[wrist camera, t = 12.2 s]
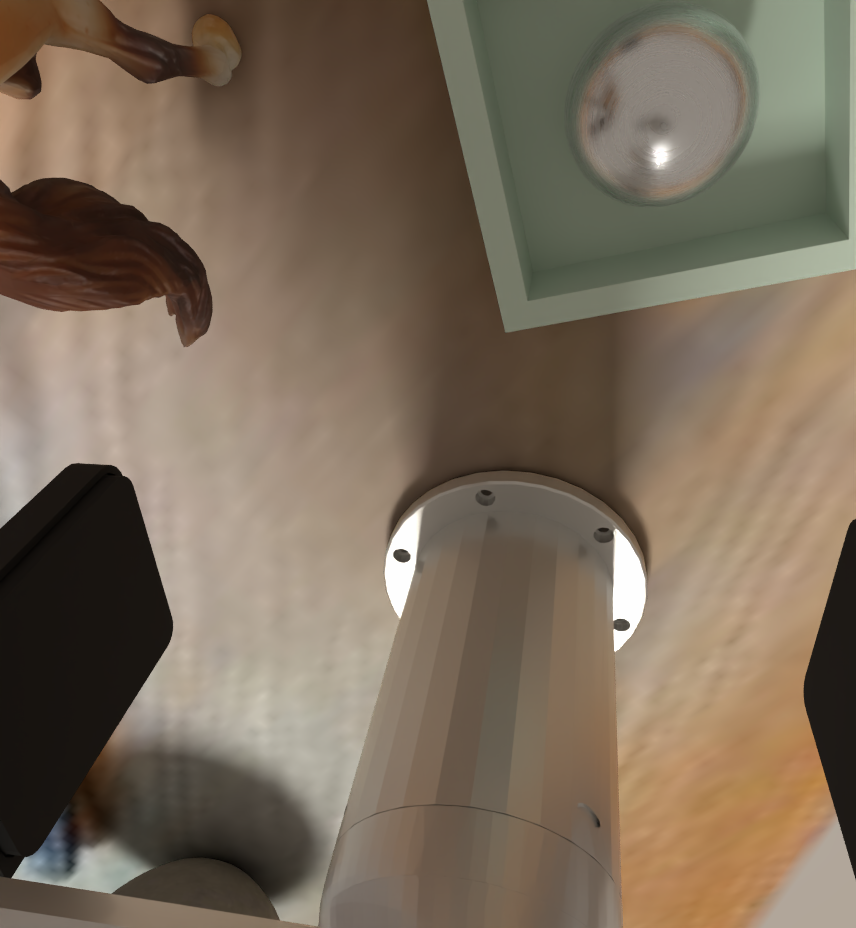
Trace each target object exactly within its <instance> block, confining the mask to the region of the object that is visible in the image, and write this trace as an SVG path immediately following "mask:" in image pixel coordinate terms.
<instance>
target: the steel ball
mask: <svg viewBox="0 0 856 928" xmlns="http://www.w3.org/2000/svg"><path fill="white" fill-rule="evenodd" d="M759 102H760V83H759V74H758V70H757V66H756V62H755V59H754V57H753V54H752V52H751V49H750V47H749V46H748V44H747V42H746V41H745V39H744V38H743V36H742V34H741V33H740V32H739V31H738V30H737V29H736V27H735V26H734V25H733V24H732V23H731V22H729V21H728V20H727V19H726V18H725V17H723V16H722V15H720V14H718V13H717V12H715V11H714V10H712V9H709V8H707V7H704V6H702V5H699V4H694V3H690V2H682V1H666V2H658V3H653V4H648V5H645V6H642V7H640V8H637V9H634V10H632V11H630V12H628V13H626V14H624V15H623V16H621V17H619V18H618V19H616V20H615V21H614V22H612V23H611V24H609V25H608V26H607V27H606V28H605V29H604V30H603V31H601V32H600V33H599V34H598V35H597V36H596V38H595V39H594V40H593V41H592V42H591V43H590V44H589V46H588V47H587V49H586V50H585V52H584V53H583V54H582V56H581V58H580V60H579V61H578V63H577V65H576V67H575V69H574V72H573V74H572V77H571V79H570V82H569V86H568V90H567V93H566V100H565V107H564V123H565V133H566V138H567V142H568V146H569V149H570V152H571V154H572V157H573V159H574V161H575V163H576V165H577V167H578V168H579V170H580V171H581V172H582V174H583V175H584V177H585V178H586V179H587V180H588V181H589V182H590V183H591V184H592V185H593V186H594V187H595V188H597V189H598V190H599V191H601V192H602V193H603V194H605V195H607V196H609V197H610V198H612V199H614V200H617V201H619V202H622V203H624V204H628V205H632V206H638V207H663V206H670V205H674V204H677V203H681V202H684V201H686V200H688V199H691V198H693V197H695V196H697V195H699V194H701V193H702V192H704V191H706V190H707V189H709V188H710V187H711V186H713V185H714V184H715V183H717V182H718V181H719V180H720V179H721V178H722V177H723V176H724V175H725V174H726V173H727V172H728V171H729V170H730V169H731V168H732V166H733V165H734V164H735V163H736V161H737V160H738V158H739V157H740V156H741V154H742V152H743V151H744V149H745V147H746V145H747V143H748V141H749V139H750V136H751V134H752V131H753V129H754V126H755V122H756V118H757V115H758V109H759Z"/></svg>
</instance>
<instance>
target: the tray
mask: <svg viewBox="0 0 856 928" xmlns="http://www.w3.org/2000/svg"><path fill="white" fill-rule="evenodd" d="M666 1H682V2H690V3H694V4H699V5H702V6H704V7H707V8H709V9H712V10H714V11H715V12H717V13H718V14H720V15H722V16H723V17H725V18H726V19H727V20H728V21H729V22H731V23H732V24H733V25H734V26H735V27H736V29H737V30H738V31H739V32H740V33H741V34H742V36H743V38H744V39H745V41H746V42H747V44H748V46H749V47H750V49H751V52H752V54H753V57H754V59H755V62H756V66H757V70H758V74H759V83H760V102H759V109H758V115H757V118H756V122H755V126H754V129H753V131H752V134H751V136H750V139H749V141H748V143H747V145H746V147H745V149H744V151H743V152H742V154H741V156H740V157H739V158H738V160H737V161H736V163H735V164H734V165H733V166H732V168H731V169H730V170H729V171H728V172H727V173H726V174H725V175H724V176H723V177H722V178H721V179H720V180H719V181H718V182H717V183H715V184H714V185H713V186H711V187H710V188H709V189H707V190H706V191H704V192H702V193H701V194H699V195H697V196H695V197H693V198H691V199H688V200H686V201H684V202H681V203H677V204H674V205H670V206H663V207H638V206H632V205H628V204H624V203H622V202H619V201H617V200H614V199H612V198H610V197H609V196H607V195H605V194H603V193H602V192H601V191H599V190H598V189H597V188H595V187H594V186H593V185H592V184H591V183H590V182H589V181H588V180H587V179H586V178H585V177H584V175H583V174H582V172H581V171H580V170H579V168H578V167H577V165H576V163H575V161H574V159H573V157H572V154H571V152H570V149H569V146H568V142H567V138H566V133H565V123H564V107H565V100H566V93H567V90H568V86H569V82H570V79H571V77H572V74H573V72H574V69H575V67H576V65H577V63H578V61H579V60H580V58H581V56H582V54H583V53H584V52H585V50H586V49H587V47H588V46H589V44H590V43H591V42H592V41H593V40H594V39H595V38H596V36H597V35H598V34H599V33H600V32H601V31H603V30H604V29H605V28H606V27H607V26H608V25H609V24H611V23H612V22H614V21H615V20H616V19H618V18H619V17H621V16H623V15H624V14H626V13H628V12H630V11H632V10H634V9H637V8H640V7H642V6H645V5H648V4H653V3H658V2H666ZM427 3H428V7H429V11H430V16H431V20H432V24H433V28H434V33H435V37H436V41H437V45H438V50H439V54H440V58H441V62H442V67H443V71H444V75H445V79H446V83H447V88H448V92H449V96H450V100H451V105H452V109H453V113H454V117H455V122H456V126H457V130H458V134H459V139H460V143H461V147H462V151H463V155H464V160H465V164H466V168H467V172H468V177H469V181H470V185H471V189H472V194H473V198H474V202H475V206H476V211H477V215H478V219H479V223H480V227H481V232H482V236H483V240H484V244H485V249H486V253H487V257H488V261H489V266H490V270H491V274H492V278H493V283H494V287H495V291H496V295H497V299H498V304H499V308H500V312H501V316H502V321H503V325H504V329H505V333H508V332H513V331H519V330H524V329H530V328H535V327H541V326H546V325H552V324H557V323H563V322H568V321H574V320H579V319H585V318H590V317H596V316H601V315H607V314H612V313H618V312H623V311H629V310H634V309H640V308H645V307H651V306H656V305H662V304H667V303H673V302H678V301H684V300H689V299H695V298H700V297H706V296H711V295H717V294H722V293H728V292H733V291H739V290H744V289H750V288H755V287H761V286H766V285H772V284H777V283H783V282H788V281H794V280H799V279H805V278H810V277H816V276H821V275H827V274H832V273H838V272H843V271H849V270H854V269H856V0H427Z"/></svg>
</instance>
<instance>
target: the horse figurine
mask: <svg viewBox="0 0 856 928" xmlns="http://www.w3.org/2000/svg"><path fill="white" fill-rule="evenodd" d="M192 41H193V45H194V46H191V47H189V46H181V45H176V44H172V43H170V42H167V41H165V40H163V39H161V38H158V37H156V36H153V35H151V34H148V33H145V32H142V31H139V30H136V29H134V28H132V27H130V26H128V25H126V24H123V23H122V22H121V21H119V20H118V19H117V18H115V16H114V15H113V14H112V13H111V11H110V10H109V9H108V8H107V7H106V6H105V5H104V4H103V3H102V2H101V1H100V0H0V92H1V93H3V94H6V95H8V96H11V97H13V98H16V99H32V98H34V97H35V96H36V95H37V94H39V93H40V92H41V78H40V73H39V70H38V66H37V63H36V54H37V52H38V51H39V49H40V48H41V47H42V46H43V45H44V44H46V45H51V46H58V47H66V48H72V49H77V50H83V51H86V52H90V53H93V54H96V55H100V56H103V57H106V58H109V59H111V60H112V61H113V62H115V63H116V64H117V65H119V66H120V67H121V68H123V69H124V70H125V71H127V72H128V73H130V74H131V75H133V76H134V77H135V78H137V79H138V80H140V81H143V82H145V83H147V84H149V83H157V82H160V81H163V80H167V79H170V78H173V77H177V76H187V77H198V78H202V79H203V80H205V81H207V82H208V83H210V84H212V85H213V86H223V85H225V84H227V83H228V82H229V81H230V79H231V78H232V73H231V71H232V70H233V69H234V68H235V67H237V65H238V64H239V62H240V59H241V57H242V52H241V48H240V46H239V43H238V41H237V39H236V37H235V35H234V33H233V31H232V29H231V27H230V26H229V25H228V24H227V22H226V21H224V20H223V19H221V18H220V17H218V16H215V15H211V14H207V15H205V16H203V17H200V18H199V19H198V21H197V22H196V23H195V24H194V27H193V31H192ZM0 294H1V295H4V296H7V297H9V298H12V299H15V300H18V301H21V302H24V303H26V304H28V305H31V306H34V307H37V308H41V309H46V310H52V311H60V312H64V311H70V310H72V311H90V310H107V309H111V308H121V307H125V306H130V305H139V304H141V303H142V302H144V301H145V300H149V299H151V298H154V297H158V298H159V297H161V296H164V295H165V296H166V304H167V308H168V313H169V315H170V316H172V315H173V314H175V315H176V324H177V329H178V332H179V336H180V339H181V342H182V344H183V346H184V347H188V346H190V345H191V344H193V343H194V342H195V341H196V340H197V339H198V338H199V337H201V336H202V335H204V334H205V333H206V332H207V330H208V328H209V325H210V321H211V316H212V296H211V292H210V288H209V284H208V281H207V275H206V270H205V268H204V265H203V263H202V262H201V260H200V259H199V257H198V256H197V254H196V253H195V251H194V250H193V249H192V248H191V247H190V246H189V245H188V244H187V243H186V242H185V241H183V240H182V239H181V238H180V237H179V235H178V234H177V233H175V232H174V231H173V230H172V229H170V228H169V227H167V226H165V225H163V224H161V223H157V222H150V221H148V220H147V218H146V217H145V216H144V214H143V213H141V212H140V211H139V210H137V209H136V208H135V207H134V206H130V205H124V204H120V203H119V202H118V201H117V200H115V199H114V198H113V197H111V196H110V195H108V194H107V193H105V192H103V191H100V190H98V189H96V188H95V187H93V186H92V185H89V184H86V183H82V182H79V181H75V180H71V179H67V178H44V179H39V180H36V181H33V182H31V183H29V184H27V185H24V186H22V187H21V188H19V189H17V190H16V191H14V192H12V193H11V192H10V189H9V188H8V187H7V186H6V185H5V184H4V183H3V182H2V181H1V180H0Z"/></svg>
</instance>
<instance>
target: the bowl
mask: <svg viewBox="0 0 856 928" xmlns="http://www.w3.org/2000/svg"><path fill="white" fill-rule="evenodd" d="M112 894H115V895H121V896H128V897H134V898H141V899H147V900H154V901H160V902H166V903H173V904H179V905H185V906H192V907H198V908H204V909H210V910H217V911H223V912H229V913H235V914H242V915H248V916H254V917H260V918H266V919H273V920H279V921H280V919H279V917H278V915H277V912H276V910H275V908H274V906H273V905H272V903H271V902H270V900H269V899H268V897H267V896H266V895H265V893H264V892H263V891H262V889H261V888H260V887H259V886H258V885H257V883H256V882H255V881H254V880H253V879H252V878H250V877H249V876H248V875H247V874H246V873H245V872H243V871H242V870H240V869H239V868H237V867H235V866H233V865H231V864H229V863H226V862H222V861H219V860H214V859H208V858H186V859H181V860H177V861H173V862H169V863H167V864H164V865H161V866H159V867H157V868H154V869H152V870H149V871H147V872H145V873H143V874H141V875H139V876H137V877H136V878H134V879H132V880H131V881H129V882H128V883H126V884H125V885H123V886H121V887H120V888H118V889H117V890H116V891H115V892H113V893H112Z"/></svg>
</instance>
